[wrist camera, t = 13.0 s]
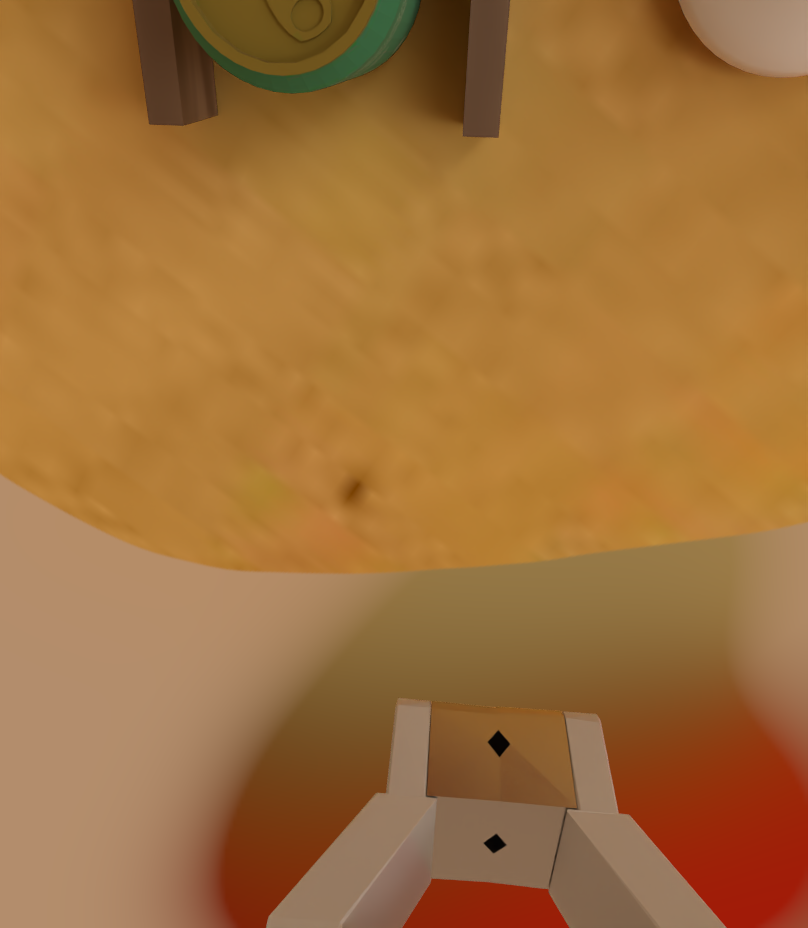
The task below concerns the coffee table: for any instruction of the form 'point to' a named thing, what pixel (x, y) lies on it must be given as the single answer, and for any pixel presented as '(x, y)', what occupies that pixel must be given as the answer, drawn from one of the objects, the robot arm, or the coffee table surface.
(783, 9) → the flower in vase
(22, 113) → the coffee table surface
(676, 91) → the coffee table surface
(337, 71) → the beverage can
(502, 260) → the coffee table surface
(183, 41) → the walnut bracket
